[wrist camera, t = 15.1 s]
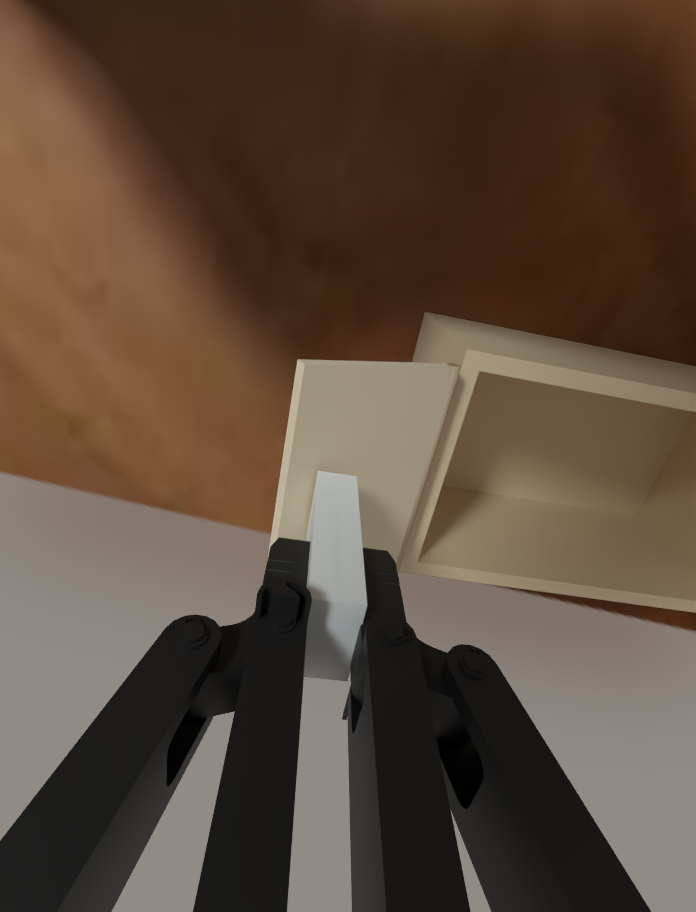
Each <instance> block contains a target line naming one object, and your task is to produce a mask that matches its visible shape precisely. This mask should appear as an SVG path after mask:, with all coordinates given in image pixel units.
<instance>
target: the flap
mask: <svg viewBox="0 0 696 912" xmlns="http://www.w3.org/2000/svg"><path fill="white" fill-rule="evenodd" d="M460 369H461V367H460V366H459V365H456V364H452V363H412V362H376V361H339V360H303V359H297V366H296V373H295V379H294V386H293V393H292V399H291V406H290V413H289V419H288V426H287V433H286V440H285V446H284V453H283V460H282V466H281V473H280V480H279V486H278V493H277V500H276V506H275V513H274V520H273V527H272V533H271V540H270V547H271V546H272V544H273V543H274V542H275V541H276V540H277V539H278V538H279V537H280V538H288V539H295V540H303V541H306V538H307V529H308V524H309V518H310V512H311V506H312V501H313V495H314V489H315V484H316V478H317V472H318V471H324V472H330V473H337V474H344V475H351V476H357V486H358V499H359V511H360V523H361V535H362V547H363V548H370V549H378V550H385V551H388V552H389V554H390V555H391V556H392V558H393V559H394V561H395V562H396V567H397V573H398V572H399V568H400V565H401V562H402V558H403V555H404V552H405V549H406V545H407V542H408V539H409V536H410V532H411V529H412V526H413V522H414V519H415V516H416V513H417V509H418V506H419V503H420V500H421V496H422V493H423V490H424V487H425V483H426V480H427V477H428V473H429V470H430V467H431V464H432V460H433V457H434V454H435V451H436V447H437V444H438V441H439V437H440V434H441V431H442V428H443V424H444V421H445V418H446V415H447V411H448V408H449V405H450V402H451V398H452V395H453V392H454V388H455V385H456V382H457V379H458V375H459V372H460ZM270 547H269V551H270ZM268 556H269V553H268ZM267 561H268V560H267Z"/></svg>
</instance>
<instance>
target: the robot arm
mask: <svg viewBox="0 0 696 912" xmlns="http://www.w3.org/2000/svg"><path fill="white" fill-rule="evenodd" d="M350 669H351V686H350V690H349V694H348V697H347V701H346V705H345V708H344V712H343V718H342V719H343V720H346V719H347V716H348V752H349V794H350V795H349V796H350V840H351V883H352V912H470V907H469V902H468V897H467V892H466V887H465V882H464V877H463V871H462V866H461V861H460V856H459V851H458V846H457V841H456V836H455V831H454V825H453V820H452V815H451V811H452V814H453V816H454V818H455V821H456V824H457V826H458V829H459V831H460V834H461V836H462V838H463V841H464V844H465V846H466V849H467V851H468V854H469V856H470V859H471V861H472V864H473V866H474V869H475V871H476V873H477V876H478V879H479V881H480V884H481V886H482V889H483V891H484V894H485V896H486V899H487V901H488V904H489V906H490V909H491V911H492V912H651V911H650V909H649V908H648V906H647V904H646V903H645V901H644V900H643V898H642V896H641V895H640V893H639V892H638V890H637V888H636V887H635V885H634V884H633V882H632V880H631V879H630V877H629V876H628V874H627V872H626V871H625V869H624V867H623V866H622V864H621V863H620V861H619V860H618V858H617V856H616V855H615V853H614V851H613V850H612V848H611V847H610V845H609V843H608V842H607V840H606V839H605V837H604V835H603V834H602V832H601V831H600V829H599V827H598V826H597V824H596V823H595V821H594V820H593V818H592V816H591V815H590V813H589V812H588V810H587V808H586V807H585V805H584V803H583V802H582V800H581V799H580V797H579V795H578V794H577V792H576V791H575V789H574V788H573V786H572V784H571V783H570V781H569V779H568V778H567V776H566V775H565V773H564V771H563V770H562V768H561V767H560V765H559V763H558V762H557V760H556V758H555V757H554V755H553V754H552V752H551V750H550V749H549V747H548V746H547V744H546V743H545V741H544V739H543V738H542V736H541V734H540V733H539V731H538V730H537V728H536V726H535V725H534V723H533V722H532V720H531V719H530V717H529V716H528V714H527V712H526V710H525V709H524V707H523V706H522V704H521V702H520V701H519V699H518V698H517V696H516V694H515V693H514V691H513V690H512V688H511V687H510V685H509V683H508V682H507V680H506V678H505V677H504V676H503V674H502V672H501V670H500V669H499V667H498V666H497V664H496V663H495V661H494V660H493V659H492V658H491V657H490V656H489V655H488V654H487V653H485V652H484V651H482V650H481V649H479V648H476V647H474V646H471V645H462V644H461V645H457V646H454V647H452V649H451V650H450V651H449V652H448V653H446V652H443V651H441V650H438V649H436V648H433V647H431V646H429V645H427V644H425V643H423V642H421V641H420V640H419V639H417V637H416V635H415V632H414V630H413V629H412V628H411V627H410V625H409V624H408V623H407V622H406V617H405V612H404V606H403V601H402V595H401V590H400V586H399V578H398V573H397V567H396V562H395V561H394V559H393V558H392V556H391V555H390V554H389V552H388V551H385V550H378V549H370V548H363V547H362V535H361V523H360V511H359V499H358V486H357V476H351V475H344V474H337V473H330V472H324V471H318V472H317V478H316V484H315V489H314V495H313V501H312V506H311V512H310V518H309V524H308V529H307V538H306V541H303V540H295V539H288V538H280V537H279V538H278V539H277V540H276V541H275V542H274V543H273V544H272V546H271V547H270V551H269V556H268V561H267V566H266V571H265V575H264V580H263V585H262V586H261V588H260V589H259V591H258V593H257V600H256V608H255V612H254V614H253V615H252V616H251V617H249V618H248V619H247V620H245V621H242V622H241V623H238V624H233V625H228V626H222V627H219V626H218V624H217V623H216V622H215V621H214V620H212V619H210V618H208V617H206V616H201V615H189V616H184V617H181V618H179V619H177V620H174V621H173V622H172V623H171V624H170V625H169V626H167V627H166V628H165V630H164V631H163V632H162V633H161V635H160V636H159V637H158V639H157V640H156V641H155V643H154V644H153V645H152V646H151V648H150V649H149V650H148V651H147V653H146V654H145V655H144V657H143V658H142V659H141V660H140V662H139V663H138V665H137V666H136V667H135V668H134V669H133V671H132V672H131V673H130V675H129V676H128V677H127V679H126V680H125V681H124V682H123V684H122V685H121V686H120V687H119V689H118V690H117V691H116V693H115V694H114V695H113V697H112V698H111V699H110V701H109V702H108V703H107V704H106V706H105V707H104V708H103V710H102V711H101V712H100V714H99V715H98V716H97V717H96V719H95V720H94V721H93V722H92V724H91V725H90V726H89V727H88V729H87V730H86V731H85V733H84V734H83V735H82V736H81V738H80V739H79V740H78V742H77V743H76V744H75V745H74V747H73V748H72V749H71V751H70V752H69V753H68V754H67V756H66V757H65V758H64V760H63V761H62V762H61V764H60V765H59V766H58V767H57V769H56V770H55V771H54V773H53V774H52V775H51V776H50V778H49V779H48V780H47V781H46V783H45V784H44V785H43V787H42V788H41V789H40V791H39V792H38V793H37V794H36V796H35V797H34V798H33V800H32V801H31V802H30V803H29V805H28V806H27V807H26V809H25V810H24V811H23V813H22V814H21V815H20V816H19V818H18V819H17V820H16V822H15V823H14V824H13V825H12V827H11V828H10V829H9V830H8V832H7V833H6V834H5V836H4V837H3V838H2V839H1V841H0V912H111V911H112V909H113V907H114V905H115V904H116V902H117V900H118V898H119V896H120V894H121V892H122V890H123V888H124V886H125V885H126V883H127V881H128V879H129V877H130V875H131V873H132V871H133V869H134V867H135V865H136V864H137V862H138V860H139V858H140V856H141V854H142V852H143V850H144V848H145V846H146V845H147V843H148V841H149V839H150V837H151V835H152V833H153V831H154V829H155V827H156V826H157V824H158V822H159V820H160V818H161V816H162V814H163V812H164V810H165V808H166V806H167V805H168V803H169V801H170V799H171V797H172V795H173V793H174V791H175V789H176V787H177V786H178V784H179V782H180V780H181V778H182V776H183V774H184V772H185V770H186V768H187V766H188V764H189V763H190V761H191V759H192V757H193V755H194V753H195V751H196V749H197V747H198V745H199V743H200V741H201V740H202V738H203V736H204V734H205V732H206V730H207V728H208V726H209V725H210V722H211V720H212V719H213V716H216V715H220V714H225V713H229V712H233V711H235V713H234V718H233V723H232V728H231V732H230V737H229V742H228V747H227V751H226V756H225V761H224V766H223V771H222V776H221V780H220V785H219V790H218V795H217V799H216V805H215V809H214V814H213V819H212V823H211V828H210V833H209V838H208V843H207V847H206V852H205V857H204V862H203V867H202V872H201V876H200V881H199V886H198V890H197V895H196V900H195V905H194V910H193V912H287V900H288V887H289V873H290V859H291V845H292V831H293V816H294V802H295V789H296V775H297V761H298V747H299V733H300V719H301V705H302V691H303V677H312V678H322V679H331V680H341V681H348V677H349V673H350ZM450 809H451V810H450Z"/></svg>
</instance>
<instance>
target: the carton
mask: <svg viewBox="0 0 696 912" xmlns="http://www.w3.org/2000/svg"><path fill="white" fill-rule="evenodd" d="M412 363H452V364H456V365H459V366H460V367H461V369H460V372H459V375H458V379H457V382H456V385H455V388H454V392H453V395H452V398H451V402H450V405H449V408H448V411H447V415H446V418H445V421H444V424H443V428H442V431H441V434H440V437H439V441H438V444H437V447H436V451H435V454H434V457H433V460H432V464H431V467H430V470H429V473H428V477H427V480H426V483H425V487H424V490H423V493H422V496H421V500H420V503H419V506H418V509H417V513H416V516H415V519H414V522H413V526H412V529H411V532H410V536H409V539H408V542H407V545H406V549H405V552H404V555H403V558H402V562H401V565H400V568H399V572H404V573H411V574H418V575H426V576H433V577H440V578H447V579H454V580H462V581H469V582H476V583H483V584H491V585H498V586H505V587H512V588H520V589H527V590H534V591H542V592H549V593H556V594H563V595H571V596H578V597H585V598H592V599H600V600H607V601H614V602H621V603H629V604H636V605H643V606H651V607H658V608H665V609H672V610H680V611H687V612H694V613H696V366H692V365H687V364H682V363H677V362H672V361H667V360H662V359H657V358H652V357H647V356H642V355H638V354H633V353H628V352H623V351H618V350H613V349H608V348H603V347H598V346H593V345H588V344H583V343H578V342H573V341H568V340H563V339H558V338H553V337H548V336H543V335H538V334H534V333H529V332H524V331H519V330H514V329H509V328H504V327H499V326H494V325H489V324H484V323H479V322H474V321H469V320H464V319H459V318H454V317H449V316H444V315H439V314H434V313H429V312H425V313H424V317H423V321H422V325H421V329H420V332H419V336H418V340H417V344H416V348H415V352H414V356H413V360H412Z"/></svg>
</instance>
